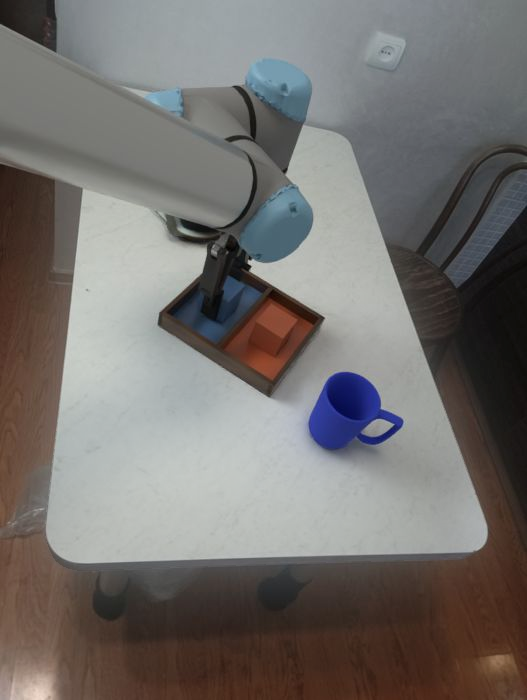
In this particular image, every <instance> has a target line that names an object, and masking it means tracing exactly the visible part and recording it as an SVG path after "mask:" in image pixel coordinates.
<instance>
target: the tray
mask: <svg viewBox="0 0 527 700" xmlns="http://www.w3.org/2000/svg"><path fill="white" fill-rule="evenodd" d="M232 265H233V264H232ZM242 271H244V272H243V276H242V279H241V282H240V283H242V284H243V285H245V287H244V290H243V293H242V296H241V299H240V302H239V305H238V307H237V308H236V309H235V310H234V311H233V312H232V313H231V314H230V315H229V316H228V317H227V318H226V320H225V321H224V322H223V323H222V322H220V321H218V320H217V319H215V320H214V321H213V320H212V319H210V318H209V317H207V316H206V315H204V314H202V313H201V312H200V311H201V309H200V308H198V307H197V305H198V301H199V297H200V292H201V291H199V290H198V289H199V285H200V281H201V276H202V273H200V275H198V277H196V278H195V279H194V280H193V281H192V282H191V283H190V284H189V285H188V286H187V287H185V288H184V289H183V290H182V291H181V292H180V293H179V294H178V295H176V296H175V297H174V299H172V300H171V301H170V302H169V303H168V304H167V305H166V306H165V307H164V308H163V309H161V310H160V311H159V312H158V317H157V326H158V327H159V328H161V329H163V330H165V332H168V333H169V334H170V335H173V336H174V337H175V338H177V339H178V340H180V341H182V343H185V344H186V345H187V346H189V347H191V348H193V350H196V351H197V352H198V353H200V354H202V355H203V356H205V357H206V358H207V359H210V360H211V362H214V363H216V364H217V365H218V366H220V367H222V368H223V369H225V370H226V371H228V372H229V373H231V374H233V376H236V377H237V378H239V379H240V380H241V381H243V382H245V383H246V384H248V385H250V386H251V387H252V388H254V389H256V390H257V391H258V392H260V393H262V394H264V395H265V396H266V397H268V398H270V397H271V396H272V394H273V393H274V392H275V391H276V389H277V388H278V387H279V385H280V384H281V383H282V381H283V379H284V378H285V377H286V375H287V374H288V373H289V371H290V370H291V369H292V367H293V366H294V364H295V363H296V362H297V361H298V359H299V358H300V356H301V355H302V353H303V352H304V351H305V349H306V348H307V346H308V345H309V344H310V342H311V341H312V340H313V339H314V337H315V336H316V334H317V333H318V331H319V330H320V329H321V327H322V325H323V323H324V321H325V319H326V317H325V316H324V315H322V314H320V313H319V312H317V311H315V310H313V309H312V308H310V307H309V306H307V305H305V304H304V303H302V302H301V301H299V300H297V299H296V298H294V297H292V296H291V295H289V294H287V293H286V292H284V291H283V290H282V289H279V288H277V287H276V286H274V285H273V284H271V283H270V282H267V281H266V280H265V279H263V278H261V277H260V276H258V275H256V274H255V273H253V272H252V271H251V270H249V272H247V271H246V270H244V269H243V270H242ZM271 304H273V305H274V306H276V307H278V308H279V309H281V310H283V311H284V312H286V313H287V314H289V315H291V316H292V317H294V318H295V319H297V320H298V321H297V323H296V325H295V327H294V329H293V331H292V334H291V336H290V338H289V340H288V341H287V342H286V344H285V345H284V346H283V347H282V349H281V350H280V351H279V353H278V354H277V355H276V356H275V358H274V357H273V356H271V355H269V354H268V353H266V352H265V351H263V350H262V349H260V348H258V347H257V346H255V345H254V344H252V343H251V342H249V338H250V336H251V333H252V330H253V328H254V325H255V322H256V321H257V319H258V318H259V317H260V316H261V315H262V314H263V313H264V311H265V310H266V309H267V308H268V307H269V306H270V305H271Z"/></svg>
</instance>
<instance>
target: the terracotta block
mask: <svg viewBox="0 0 527 700" xmlns="http://www.w3.org/2000/svg"><path fill="white" fill-rule="evenodd" d="M297 321H298V320H297V319H295V318H294V317H292V316H291V315H289V314H287V313H286V312H284V311H283V310H281V309H279V308H278V307H276V306H274V305H273V304H271V305H270V306H269V307H268V308H267V309H266V310H265V311H264V313H263V314H262V315H261V316H260V317H259V318H258V319H257V321H256V322H255V325H254V328H253V330H252V333H251V336H250V338H249V342H251V343H252V344H254V345H255V346H257V347H258V348H260V349H262V350H263V351H265V352H266V353H268V354H269V355H271V356H273V357H274V358H275V356H276V355H277V354H278V353H279V351H280V350H281V349H282V347H283V346H284V345H285V344H286V342H287V341H288V340H289V338H290V336H291V334H292V331H293V329H294V327H295V325H296V323H297Z"/></svg>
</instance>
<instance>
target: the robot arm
mask: <svg viewBox="0 0 527 700" xmlns="http://www.w3.org/2000/svg"><path fill="white" fill-rule="evenodd" d="M244 82H245V83H244V84H235V85H231V86H211V87H209V86H208V87H186V88H185V87H183V88H180V87H175V88H174V89H168V90H160V91H151V92H149V93H147V94H146V95H145V96H144V97H143V96H141V95H138V94H137V93H135V92H133V91H131V90H129V89H127V88H125V87H123V86H122V85H119V84H118V83H115V82H114V81H112V80H109V79H108V78H106V77H105V76H102V75H100V74H99V73H97V72H95V71H92V70H90V69H89V68H87V67H85V66H83V65H81V64H79V63H77V62H75V61H73V60H72V59H69V58H67V57H65V56H63V55H61V54H60V53H57V52H56V51H53V50H52V49H50V48H48V47H45V45H42V44H40V43H38V42H37V41H35V40H33V39H30V38H29V37H27V36H24V35H23V34H20V33H18V32H17V31H15V30H12V29H11V28H9V27H7V26H5V25H3V24H2V23H0V164H1V165H4V166H8V167H10V168H11V167H12V168H14V169H17V170H21V171H23V172H27V173H30V174H34V175H37V176H40V177H43V178H47V179H51V180H54V181H58V182H61V183H64V184H67V185H69V186H74V187H77V188H80V189H83V190H87V191H90V192H94V193H97V194H100V195H102V196H106V197H110V198H113V199H116V200H120V201H123V202H126V203H130V204H132V205H136V206H139V207H143V208H146V209H149V210H152V211H155V212H156V211H159V212H162V213H166V214H169V215H172V216H175V217H179V218H182V219H185V220H189V221H192V222H195V223H198V224H202V225H205V226H208V227H211V228H214V229H216V230H219V231H220V236H219V239H217V241H214V240H211V241H208V242H207V245H206V255H205V261H204V265H203V268H202V273H201V274H202V276H201V281H200V285H199V289H198V290H199V291H201V292H202V293H204V294H205V295H204V299H203V303H202V307H201V311H200V312H201V313H202V314H204V315H206V316H207V317H209V318H210V319H212V320H213V321H214V320H215V319H216V318H217V315H218V311H219V308H220V304H221V301H222V298H223V294H224V290H223V286H224V284H225V281H226V279H227V276H228V275H229V276H230V277H232V278H234V279H235V280H237V281H239V282H241V279H242V276H243V272H244V271H242V270H243V269H244V270H246V271H247V272H249V271H251V269H252V266H253V265H251V264H249V261H250V262H251V261H252V260H254V261H255V262H257V263H262V264H271V263H275V262H278V261H281V260H283V259H285V258H287V257H288V256H290V255H292V254H293V253H294V252H295V251H297V250H298V249H299V248H300V246H301V245H302V243H303V242H304V241H305V240H306V239H307V238H308V236H309V235H310V232H311V231H312V227H313V225H314V219H315V218H314V212H313V208H312V206H311V204H310V203H309V201H308V200H307V199H306V198H305V196H304V194H303V193H302V192H301V191H300V189H299V186H298V185H297V184H295V183H293V181H291V180H290V178H288V177H287V174H288V171H289V167H290V163H291V160H292V157H293V154H294V151H295V148H296V145H297V143H298V140H299V137H300V135H301V132H302V130H303V126H304V123H305V122H306V121H307V115H308V112H309V111H308V110H309V106H310V103H311V100H312V99H311V98H312V95H313V84H312V81H311V79H310V77H309V76H308V74H306V73H305V72H304V71H303V70H302V69H301V68H300V67H298V66H296V65H294V64H293V63H290V62H288V61H285V60H283V59H278V58H273V57H269V58H268V57H265V58H264V57H263V58H260V59H258V60H257V61H254V62H252V64H251V65H250V67H249V68H248V72H247V75H246V76H245V81H244ZM232 264H233V265H232Z"/></svg>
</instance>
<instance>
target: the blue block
mask: <svg viewBox="0 0 527 700" xmlns="http://www.w3.org/2000/svg"><path fill="white" fill-rule="evenodd" d="M244 287H245V285H243V284H242V283H240V282H239V281H237V280H235V279H234V278H232V277H230V276H229V275H228V276H227V279H226V281H225V284H224V286H223V290H224V294H223V298H222V301H221V304H220V308H219V311H218V315H217V318H216V319H217V320H218V321H220V322H222V323H223V322H224V321H225V320H226V318H227V317H228V316H229V315H230V314H231V313H232V312H233V311H234V310H235V309H236V308H237V307H238V305H239V302H240V299H241V296H242V293H243V290H244ZM204 295H205V294H204V293H202V292H200V297H199V301H198V305H197V307H198V308H200V309H201V307H202V303H203V299H204Z"/></svg>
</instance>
